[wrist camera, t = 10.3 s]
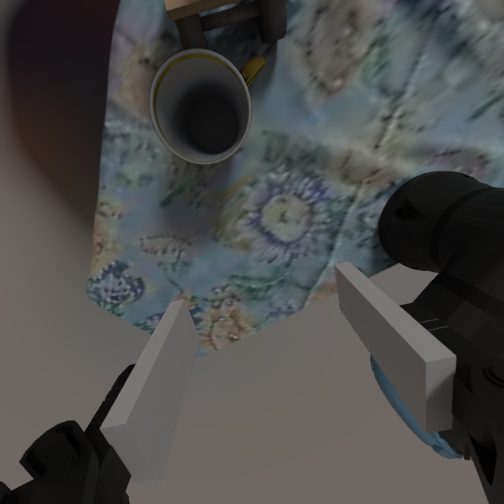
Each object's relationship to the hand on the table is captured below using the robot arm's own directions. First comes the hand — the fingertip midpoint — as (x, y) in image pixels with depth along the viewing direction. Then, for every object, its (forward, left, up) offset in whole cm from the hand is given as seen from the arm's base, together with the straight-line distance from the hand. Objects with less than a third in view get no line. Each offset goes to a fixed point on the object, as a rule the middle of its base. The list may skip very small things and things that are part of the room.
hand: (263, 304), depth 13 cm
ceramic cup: (+14, -3, -25) cm, 29 cm away
